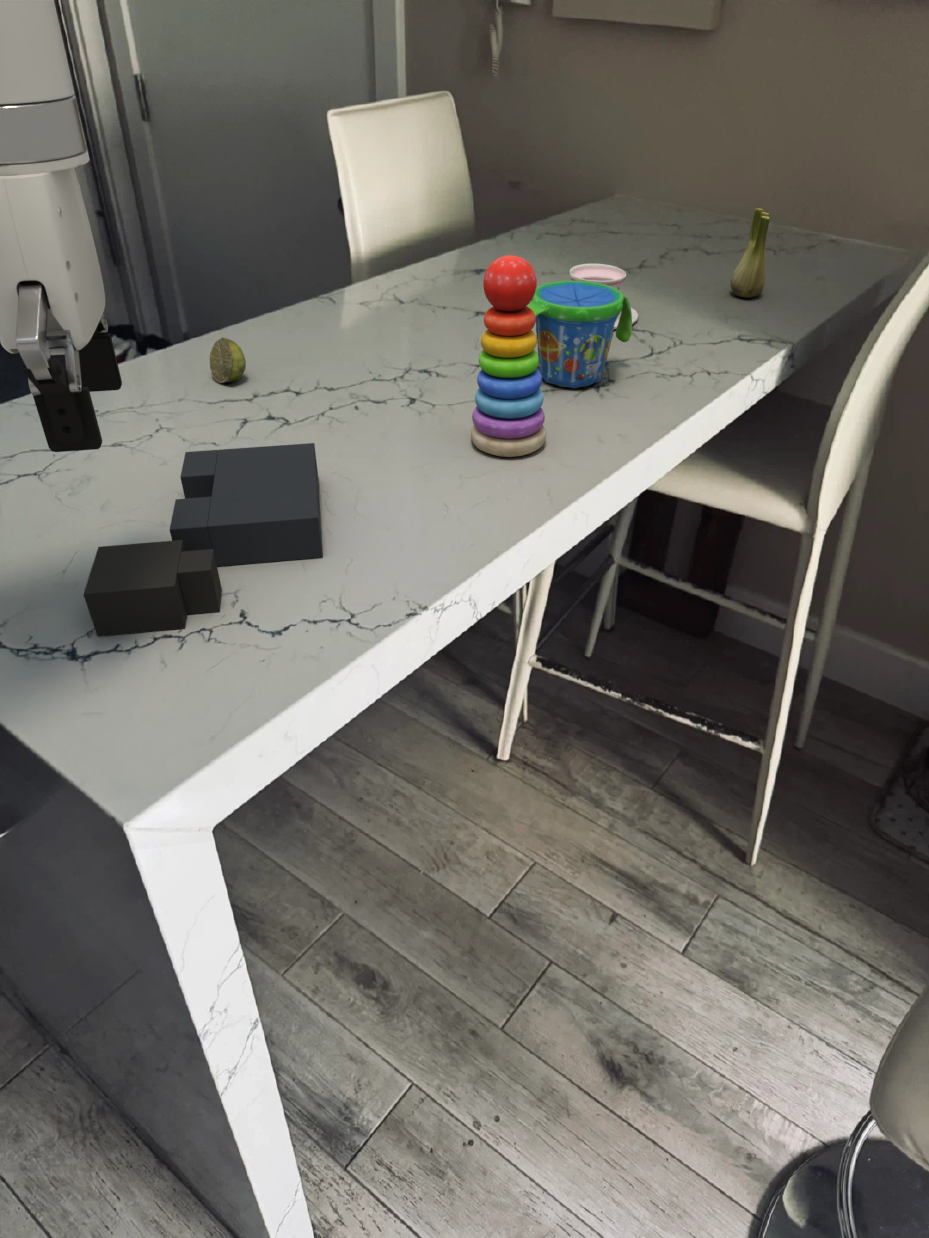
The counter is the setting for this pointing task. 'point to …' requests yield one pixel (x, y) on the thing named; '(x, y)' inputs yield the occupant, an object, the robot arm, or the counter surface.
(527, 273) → the stacking toy
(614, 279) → the teacup
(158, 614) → the dark tabbed block
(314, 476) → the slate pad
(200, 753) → the counter surface
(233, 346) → the lime
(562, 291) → the snack cup
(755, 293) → the fennel bulb
